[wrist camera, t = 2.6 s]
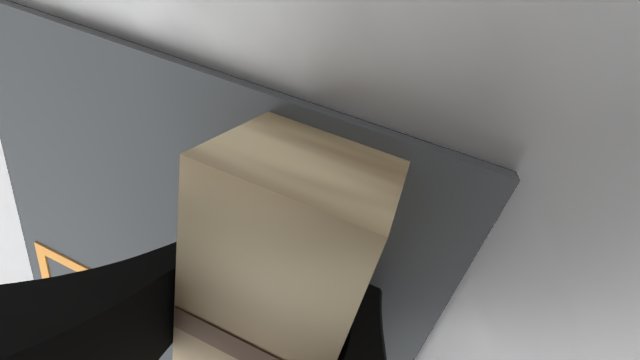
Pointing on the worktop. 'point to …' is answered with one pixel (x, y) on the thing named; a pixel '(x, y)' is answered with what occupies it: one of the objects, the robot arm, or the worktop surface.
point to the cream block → (278, 240)
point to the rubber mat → (186, 133)
